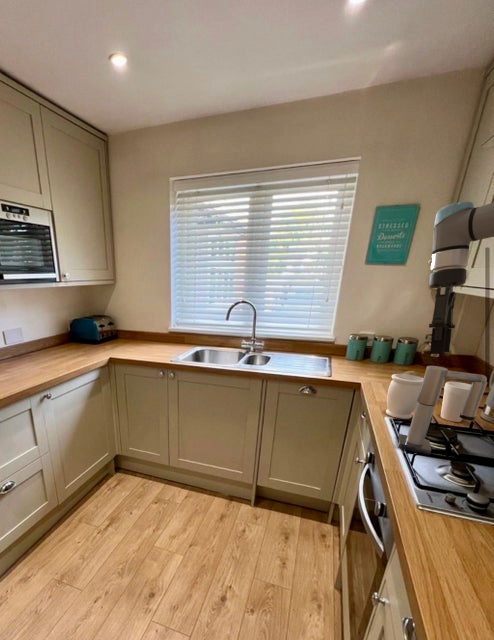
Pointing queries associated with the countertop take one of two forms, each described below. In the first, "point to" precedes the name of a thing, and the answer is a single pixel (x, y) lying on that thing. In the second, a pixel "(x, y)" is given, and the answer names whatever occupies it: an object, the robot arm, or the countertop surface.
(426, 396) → the spout
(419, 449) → the tap base
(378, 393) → the countertop surface
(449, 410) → the foam cup
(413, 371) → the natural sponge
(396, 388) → the jar
